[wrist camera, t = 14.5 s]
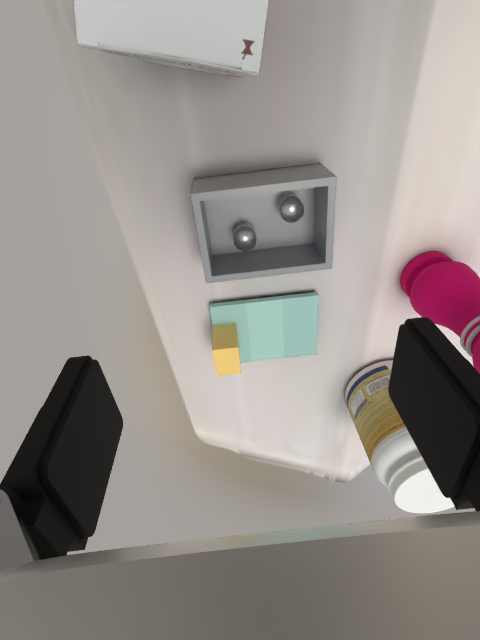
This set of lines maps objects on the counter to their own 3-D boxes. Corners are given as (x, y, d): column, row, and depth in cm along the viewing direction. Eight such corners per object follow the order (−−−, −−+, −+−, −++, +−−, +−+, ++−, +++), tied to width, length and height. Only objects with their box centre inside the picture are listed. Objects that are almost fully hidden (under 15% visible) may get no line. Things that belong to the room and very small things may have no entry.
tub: (320, 163, 36) (336, 176, 32) (318, 245, 42) (332, 268, 37) (193, 178, 37) (190, 194, 32) (207, 258, 42) (206, 283, 37)
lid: (315, 287, 45) (329, 318, 39) (313, 346, 50) (326, 380, 45) (209, 299, 45) (208, 331, 39) (219, 356, 50) (219, 391, 45)
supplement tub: (338, 415, 58) (376, 521, 44) (348, 358, 52) (397, 463, 38) (412, 410, 59) (473, 514, 45) (431, 353, 52) (511, 455, 38)
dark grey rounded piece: (254, 220, 39) (256, 228, 37) (254, 241, 40) (256, 250, 38) (232, 221, 39) (233, 229, 37) (233, 242, 40) (234, 251, 38)
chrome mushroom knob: (299, 190, 37) (304, 197, 35) (299, 213, 39) (304, 221, 36) (276, 193, 37) (280, 200, 35) (277, 216, 39) (280, 223, 37)
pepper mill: (403, 248, 42) (522, 358, 26) (463, 245, 43) (619, 352, 26) (390, 300, 46) (486, 424, 30) (445, 297, 47) (570, 418, 30)
